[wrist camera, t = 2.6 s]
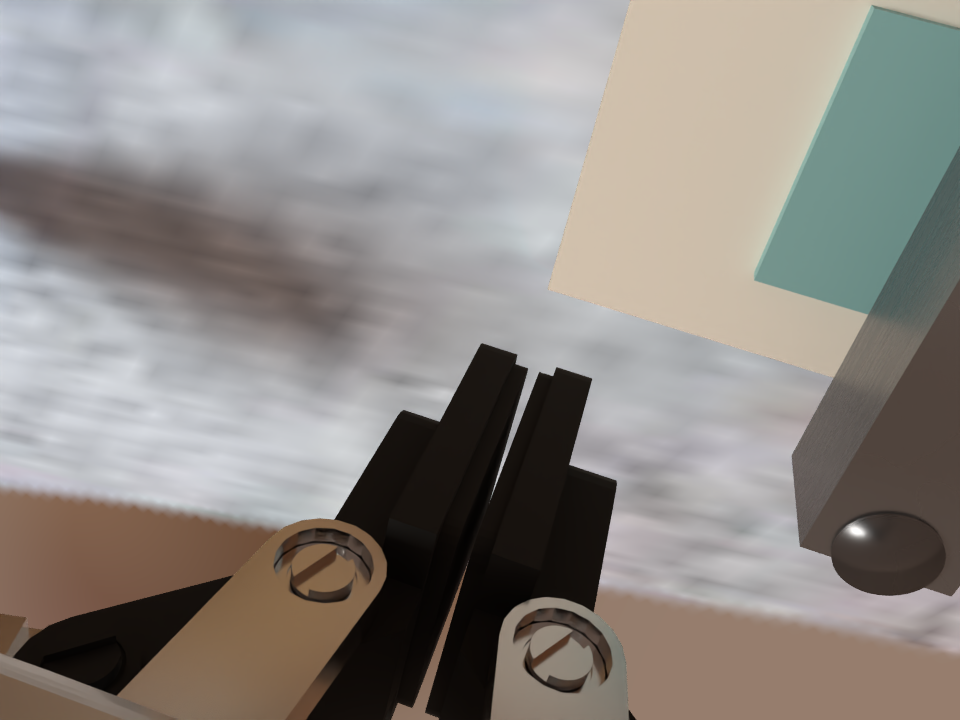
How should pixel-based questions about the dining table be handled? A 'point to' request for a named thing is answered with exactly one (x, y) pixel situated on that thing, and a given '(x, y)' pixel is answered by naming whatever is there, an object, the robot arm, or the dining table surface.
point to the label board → (763, 167)
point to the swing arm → (894, 426)
